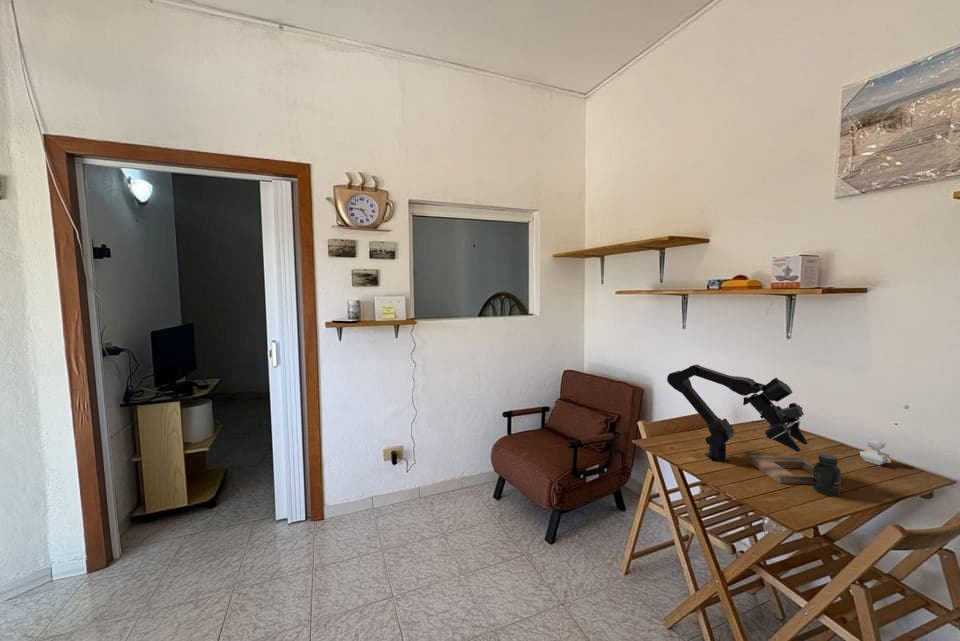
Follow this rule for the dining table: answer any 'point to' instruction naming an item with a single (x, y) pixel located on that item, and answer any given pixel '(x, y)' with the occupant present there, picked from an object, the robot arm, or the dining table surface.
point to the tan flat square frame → (776, 468)
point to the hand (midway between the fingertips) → (803, 447)
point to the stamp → (875, 453)
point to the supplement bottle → (827, 475)
